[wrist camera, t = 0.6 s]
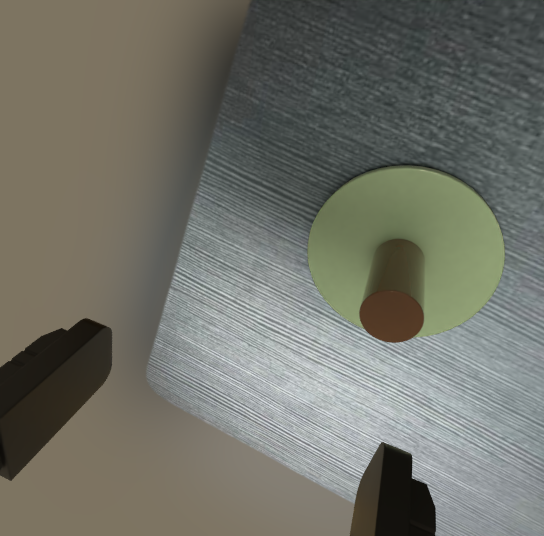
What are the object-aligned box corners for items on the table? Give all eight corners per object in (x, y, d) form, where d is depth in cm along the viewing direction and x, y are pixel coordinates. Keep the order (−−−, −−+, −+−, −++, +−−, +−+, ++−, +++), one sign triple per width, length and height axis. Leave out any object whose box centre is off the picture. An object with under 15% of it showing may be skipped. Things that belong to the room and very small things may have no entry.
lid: (278, 228, 28) (236, 281, 22) (432, 119, 22) (433, 151, 16) (375, 350, 30) (362, 428, 24) (540, 280, 24) (577, 361, 18)
